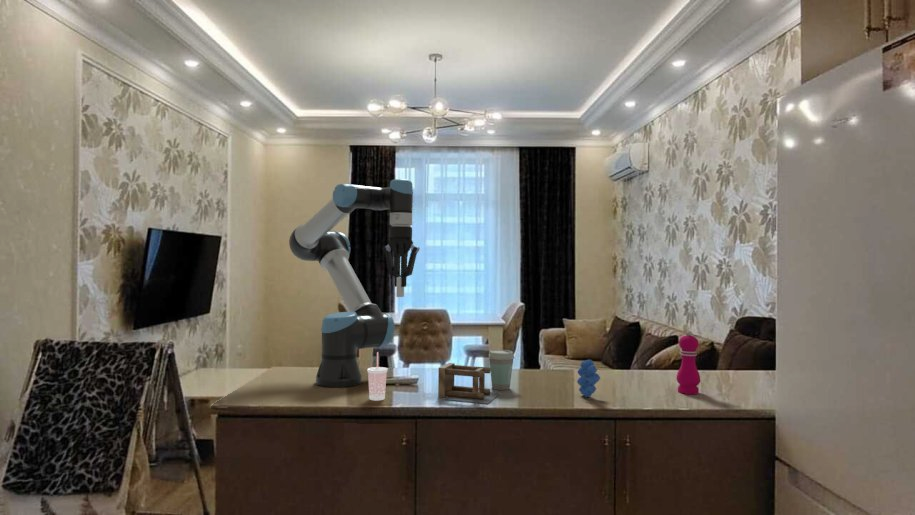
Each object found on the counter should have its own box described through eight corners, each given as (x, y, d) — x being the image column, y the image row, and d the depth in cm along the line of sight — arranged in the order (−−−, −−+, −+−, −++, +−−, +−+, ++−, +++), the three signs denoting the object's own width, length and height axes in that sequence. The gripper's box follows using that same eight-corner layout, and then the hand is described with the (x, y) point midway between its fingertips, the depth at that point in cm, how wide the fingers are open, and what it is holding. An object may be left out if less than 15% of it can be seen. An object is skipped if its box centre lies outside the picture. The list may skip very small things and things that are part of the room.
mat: (443, 399, 177) (443, 398, 177) (458, 390, 190) (458, 389, 190) (488, 404, 172) (488, 403, 172) (500, 393, 185) (500, 392, 185)
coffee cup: (512, 391, 189) (512, 354, 189) (486, 390, 190) (486, 353, 190) (515, 386, 197) (515, 350, 197) (489, 384, 199) (490, 349, 199)
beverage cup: (389, 396, 180) (390, 351, 180) (383, 401, 174) (384, 354, 174) (370, 395, 181) (371, 350, 181) (364, 400, 175) (364, 353, 175)
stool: (438, 367, 180) (482, 371, 175) (448, 362, 189) (490, 366, 184) (438, 397, 180) (482, 401, 175) (448, 390, 189) (490, 394, 184)
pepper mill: (699, 390, 193) (700, 329, 193) (700, 395, 186) (701, 332, 186) (675, 389, 195) (676, 328, 195) (676, 393, 188) (677, 331, 188)
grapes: (608, 401, 177) (608, 361, 177) (586, 402, 176) (587, 362, 176) (592, 392, 189) (593, 355, 188) (572, 393, 187) (573, 355, 187)
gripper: (378, 225, 195) (377, 296, 196) (414, 225, 191) (413, 298, 191) (388, 226, 203) (387, 295, 203) (423, 226, 198) (422, 296, 198)
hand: (400, 296), depth 197 cm, fingers closed
